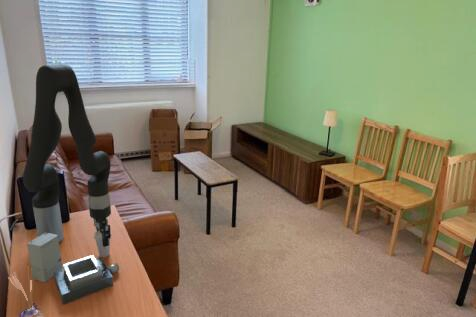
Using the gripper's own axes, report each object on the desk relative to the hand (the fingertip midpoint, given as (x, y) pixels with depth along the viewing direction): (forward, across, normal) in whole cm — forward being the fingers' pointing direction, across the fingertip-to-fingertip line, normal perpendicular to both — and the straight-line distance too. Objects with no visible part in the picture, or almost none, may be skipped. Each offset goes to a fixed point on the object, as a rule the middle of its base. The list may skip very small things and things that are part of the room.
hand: (103, 241), depth 133 cm
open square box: (+6, +13, -9) cm, 17 cm away
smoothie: (+6, 0, 0) cm, 6 cm away
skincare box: (+6, +1, -20) cm, 21 cm away
